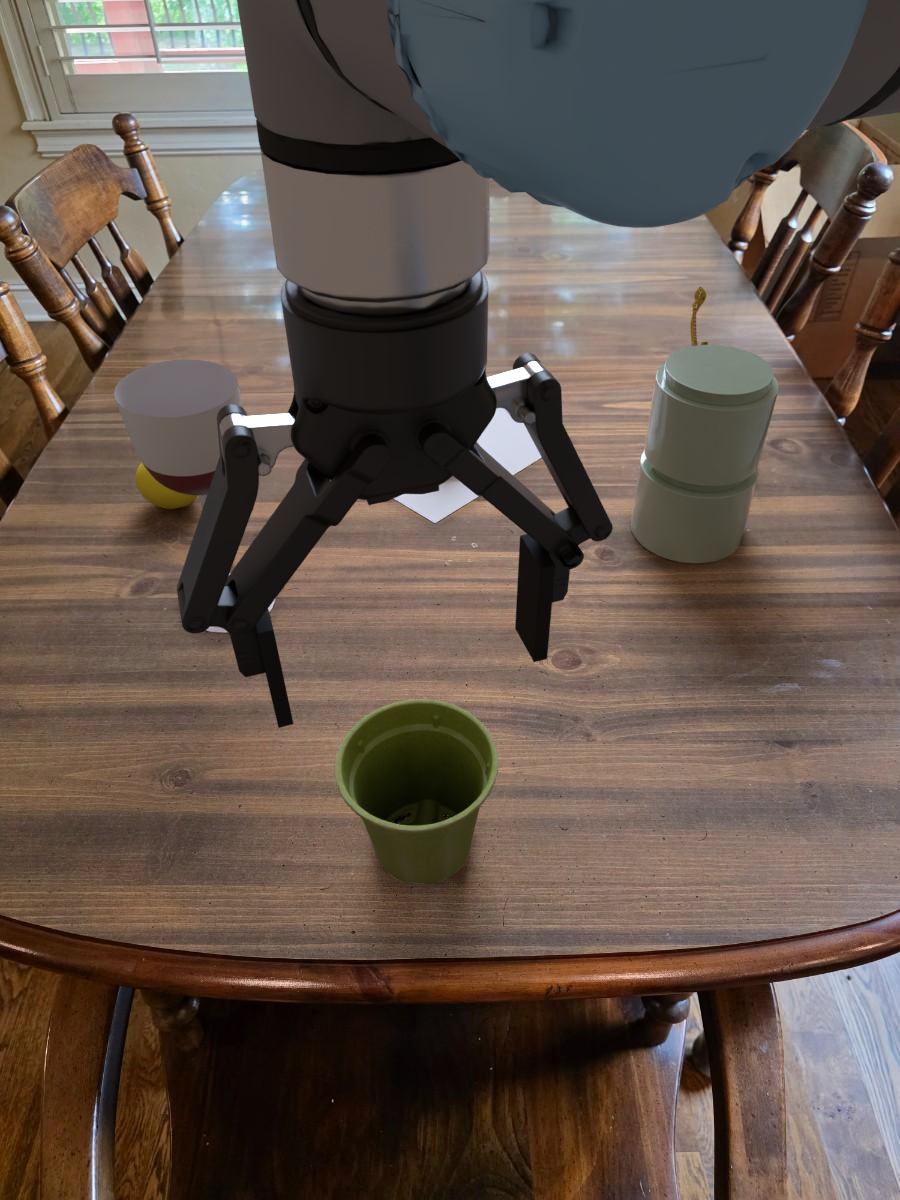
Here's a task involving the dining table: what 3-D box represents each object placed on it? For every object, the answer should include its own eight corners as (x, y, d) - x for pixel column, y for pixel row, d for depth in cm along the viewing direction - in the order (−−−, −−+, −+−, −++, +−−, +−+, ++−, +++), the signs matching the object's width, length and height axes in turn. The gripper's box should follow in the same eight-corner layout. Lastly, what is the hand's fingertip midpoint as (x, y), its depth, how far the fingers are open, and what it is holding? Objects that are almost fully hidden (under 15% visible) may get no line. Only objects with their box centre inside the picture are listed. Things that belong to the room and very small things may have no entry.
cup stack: (764, 549, 77) (811, 386, 66) (663, 573, 75) (695, 409, 64) (705, 488, 84) (739, 332, 73) (611, 509, 82) (632, 351, 71)
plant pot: (320, 839, 56) (302, 755, 50) (430, 759, 61) (426, 674, 55) (412, 942, 51) (405, 862, 45) (526, 847, 55) (532, 763, 49)
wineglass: (237, 649, 69) (181, 429, 56) (159, 611, 72) (88, 396, 59) (300, 591, 74) (263, 377, 60) (224, 558, 77) (172, 349, 64)
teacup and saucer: (381, 455, 89) (378, 420, 87) (436, 425, 94) (435, 391, 91) (441, 488, 85) (440, 453, 82) (496, 456, 89) (497, 421, 86)
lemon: (130, 516, 82) (114, 468, 79) (155, 484, 86) (141, 437, 83) (199, 524, 81) (186, 476, 78) (221, 491, 85) (210, 444, 82)
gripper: (647, 196, 36) (596, 577, 51) (17, 279, 31) (160, 681, 45) (746, 261, 31) (658, 666, 46) (8, 376, 26) (173, 796, 40)
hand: (410, 674), depth 45 cm, fingers open, 13 cm apart
